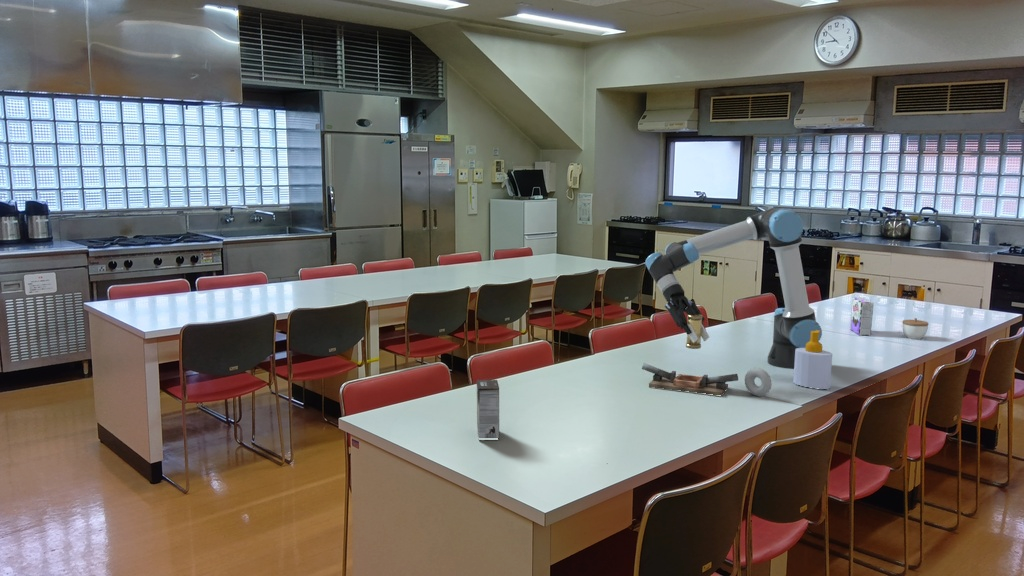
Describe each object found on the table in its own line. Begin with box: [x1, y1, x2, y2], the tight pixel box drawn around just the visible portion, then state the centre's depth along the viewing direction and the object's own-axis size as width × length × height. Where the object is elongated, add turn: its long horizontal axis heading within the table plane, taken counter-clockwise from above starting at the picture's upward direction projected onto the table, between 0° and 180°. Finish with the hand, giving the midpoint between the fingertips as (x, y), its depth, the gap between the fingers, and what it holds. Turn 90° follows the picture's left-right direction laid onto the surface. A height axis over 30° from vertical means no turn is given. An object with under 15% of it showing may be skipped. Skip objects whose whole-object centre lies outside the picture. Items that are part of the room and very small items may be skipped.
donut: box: [744, 367, 773, 397], centre depth 262 cm, size 10×4×10 cm, turn 41°
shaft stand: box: [641, 362, 739, 397], centre depth 272 cm, size 35×12×7 cm, turn 63°
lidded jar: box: [901, 317, 929, 340], centre depth 351 cm, size 11×11×9 cm
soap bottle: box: [793, 330, 833, 390], centre depth 273 cm, size 13×8×20 cm, turn 47°
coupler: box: [685, 314, 704, 350], centre depth 274 cm, size 5×5×12 cm
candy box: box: [849, 297, 875, 337], centre depth 362 cm, size 14×6×16 cm, turn 172°
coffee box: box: [476, 379, 500, 439], centre depth 223 cm, size 9×6×16 cm
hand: (701, 339), depth 272 cm, fingers closed on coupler, 5 cm apart
